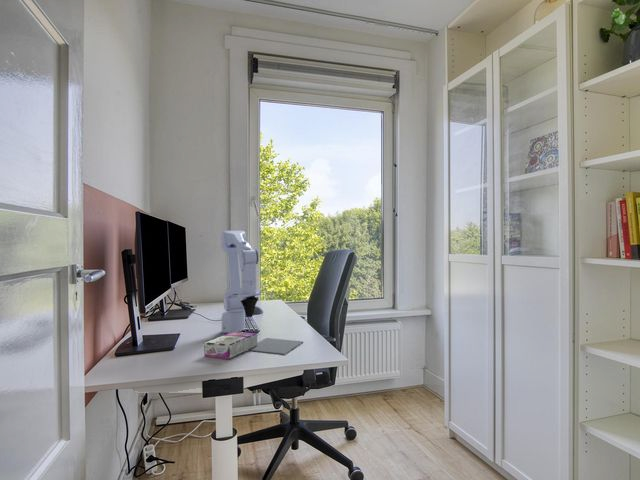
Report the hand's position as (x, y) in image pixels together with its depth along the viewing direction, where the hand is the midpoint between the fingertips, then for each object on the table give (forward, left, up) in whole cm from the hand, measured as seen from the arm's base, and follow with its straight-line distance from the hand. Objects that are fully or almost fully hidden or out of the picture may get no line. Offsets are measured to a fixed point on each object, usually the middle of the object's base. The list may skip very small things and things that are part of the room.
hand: (249, 316), depth 144 cm
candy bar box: (0, -2, -8) cm, 8 cm away
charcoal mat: (+11, 0, -10) cm, 15 cm away
